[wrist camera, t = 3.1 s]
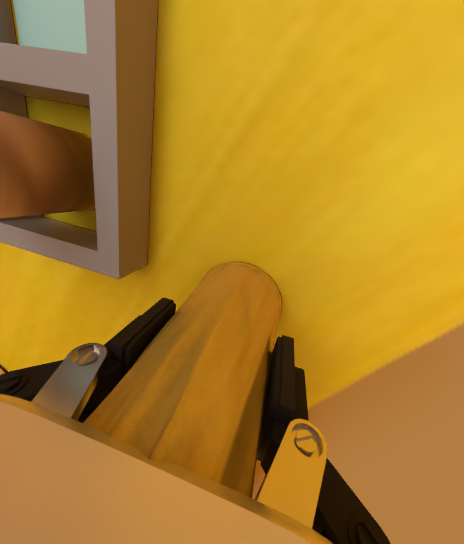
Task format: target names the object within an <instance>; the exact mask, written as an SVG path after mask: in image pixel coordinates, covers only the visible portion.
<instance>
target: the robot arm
mask: <svg viewBox="0 0 464 544" xmlns="http://www.w3.org/2000/svg"><path fill="white" fill-rule="evenodd" d="M175 310H176V304H174V301H173V300H170V299H167V298H162V299H161V300H159V301H158V302H157V303H156V304H155V305H153V306H152V307H151V308H150V309H149V310H148V311H146V312H145V313H144V314H143V315H140V316H138V317H137V318H136V319H135V320H133V321H132V322H131V323H130V324H129V325H127V326H126V327H125V328H124V329H123V330H121V331H120V332H119V333H118V334H117V335H115V336H114V337H113V338H112V339H111V340H109V341H108V342H107V343H106V344H105V345H102V344H98V343H88V344H84V345H81V346H79V347H77V348H75V349H73V350H72V351H71V352H70V353H69V354H68V355H67V357H66V358H65V359H64V360H61V361H56V362H52V363H47V364H42V365H38V366H33V367H28V368H24V369H19V370H15V371H10V372H7V373H5V372H4V371H3V370H2V369H1V368H0V544H390V542H389V540H388V538H387V536H386V535H385V533H384V532H383V531H382V529H381V527H380V526H379V525H378V523H377V522H376V521H375V520H374V518H373V517H372V516H371V514H370V513H369V512H368V511H367V509H366V508H365V507H364V506H363V504H362V503H361V502H360V500H359V499H358V497H357V496H356V495H355V494H354V492H353V491H352V490H351V489H350V487H349V486H348V485H347V483H346V482H345V481H344V479H342V477H341V476H340V474H339V473H338V472H337V470H336V469H335V468H334V466H333V465H332V464H331V463H330V461H329V460H328V459H327V452H328V447H327V444H326V440H325V438H324V437H323V434H322V433H321V432H320V431H319V429H318V428H317V427H316V426H314V425H313V424H312V423H310V422H309V421H308V410H307V398H306V386H305V375H304V370H303V369H301V368H298V367H295V365H294V339H293V338H291V337H287V336H284V335H282V338H281V337H278V338H277V340H276V343H275V346H274V349H273V352H272V359H271V367H270V375H269V382H268V390H267V397H266V404H265V411H264V418H263V424H262V431H261V437H260V443H259V449H258V458H257V460H259V461H261V466H262V468H263V470H264V472H265V477H264V479H263V481H262V484H261V486H260V488H259V491H258V493H257V496H256V497H255V500H254V499H252V498H250V497H248V496H246V495H243V494H241V493H239V492H237V491H235V490H232V489H230V488H228V487H226V486H223V485H221V484H219V483H217V482H215V481H212V480H210V479H208V478H206V477H203V476H201V475H199V474H197V473H194V472H192V471H190V470H188V469H186V468H183V467H181V466H179V465H176V464H171V463H164V462H155V461H152V460H149V459H148V458H146V457H145V456H144V455H143V454H142V453H141V452H139V451H138V450H137V449H136V448H134V447H133V446H131V445H128V444H126V443H124V442H122V441H120V440H118V439H115V438H113V437H110V436H108V435H107V434H106V433H104V432H102V431H99V430H97V429H95V428H92V427H90V426H88V425H85V424H83V423H84V422H85V421H86V419H87V418H88V417H89V416H90V415H91V414H92V413H93V412H94V410H95V409H96V408H97V407H98V406H99V405H100V404H101V403H102V401H103V400H104V399H105V398H106V397H107V396H108V395H109V394H110V393H111V391H112V390H113V389H114V388H115V387H116V386H117V384H118V383H119V382H120V381H121V380H122V379H123V377H124V376H125V375H126V374H127V373H128V371H129V370H130V369H131V368H132V366H133V365H134V364H135V362H136V361H137V359H138V358H139V357H140V355H141V354H142V353H143V351H144V350H145V349H146V348H147V346H148V345H149V344H150V343H151V341H152V340H153V339H154V338H155V336H156V335H157V334H158V333H159V332H160V330H161V329H162V328H163V327H164V326H165V324H166V323H167V322H168V321H169V320H170V319H171V318H172V317H173V315H174V314H175Z"/></svg>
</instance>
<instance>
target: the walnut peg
mask: <svg viewBox="0 0 464 544" xmlns="http://www.w3.org/2000/svg"><path fill="white" fill-rule="evenodd" d="M93 209H95V191H94V173H93V155H92V139H91V138H89V137H88V136H86V135H84V134H82V133H79V132H75V131H71V130H68V129H64V128H61V127H57V126H53V125H50V124H46V123H43V122H39V121H35V120H32V119H28V118H25V117H21V116H18V115H14V114H10V113H7V112H3V111H0V218H9V217H19V216H30V215H41V214H51V213H62V212H72V211H83V210H93Z"/></svg>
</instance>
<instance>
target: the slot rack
mask: <svg viewBox="0 0 464 544" xmlns="http://www.w3.org/2000/svg"><path fill="white" fill-rule="evenodd" d="M13 2H14V9H15V15H16V22H17V29H18V36H19V43H20V45H17V43H16V36H15V29H14V23H13V16H12V10H11V3H10V0H0V111H3V112H7V113H10V114H14V115H18V116H21V117H25V118H28V115H27V109H26V102H25V96H29V97H34V98H40V99H45V100H51V101H57V102H62V103H68V104H73V105H79V106H84V107H90V119H91V137H92V155H93V173H94V191H95V209H96V227H97V232H96V231H92V230H88V229H85V228H81V227H78V226H74V225H71V224H67V223H64V222H60V221H56V220H53V219H49V218H46V217H43V214H41V215H30V216H19V217H9V218H0V242H2V243H5V244H8V245H11V246H15V247H18V248H21V249H24V250H27V251H31V252H34V253H37V254H40V255H43V256H47V257H50V258H53V259H56V260H59V261H63V262H66V263H69V264H72V265H75V266H78V267H82V268H85V269H88V270H91V271H94V272H98V273H101V274H104V275H107V276H110V277H114V278H117V279H121V278H122V277H124V276H126V275H128V274H130V273H132V272H134V271H136V270H138V269H140V268H142V267H144V266H146V265H147V256H148V232H149V208H150V184H151V159H152V135H153V111H154V87H155V63H156V38H157V14H158V0H13Z"/></svg>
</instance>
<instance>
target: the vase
mask: <svg viewBox="0 0 464 544" xmlns="http://www.w3.org/2000/svg"><path fill="white" fill-rule="evenodd" d="M281 309H282V300H281V295H280V292H279V290H278V288H277V286H276V284H275V283H274V281H273V280H272V279H271V278H270V277H269V276H268V275H267V274H266V273H264V272H263V271H262V270H260V269H258V268H257V267H255V266H253V265H250V264H246V263H241V262H229V263H225V264H222V265H219V266H216V267H214V268H213V269H211V270H210V271H209V272H208V273H207V274H206V276H205V277H204V278H203V280H202V281H201V283H200V285H199V286H198V287H197V288H196V289H195V290H194V291H193V293H192V294H191V295H190V296H189V297H188V298H187V300H186V301H185V302H184V303H183V304H182V306H181V307H180V308H179V309H178V311H177V312H176V313H175V314H174V315H173V317H172V318H171V319H170V320H169V321H168V322H167V323H166V324H165V326H164V327H163V328H162V329H161V330H160V332H159V333H158V334H157V335H156V336H155V338H154V339H153V340H152V341H151V343H150V344H149V345H148V346H147V348H146V349H145V350H144V351H143V353H142V354H141V355H140V357H139V358H138V359H137V361H136V362H135V364H134V365H133V366H132V368H131V369H130V370H129V371H128V373H127V374H126V375H125V376H124V377H123V379H122V380H121V381H120V382H119V383H118V384H117V386H116V387H115V388H114V389H113V390H112V391H111V393H110V394H109V395H108V396H107V397H106V398H105V399H104V400H103V401H102V403H101V404H100V405H99V406H98V407H97V408H96V409H95V410H94V412H93V413H92V414H91V415H90V416H89V417H88V418H87V419H86V421H85V422H84V423H83V424H85V425H88V426H90V427H92V428H95V429H97V430H99V431H102V432H104V433H106V434H107V435H108V436H110V437H113V438H115V439H118V440H120V441H122V442H124V443H126V444H128V445H131V446H133V447H134V448H136V449H137V450H138V451H139V452H141V453H142V454H143V455H144V456H145V457H146V458H148V459H149V460H152V461H155V462H164V463H171V464H176V465H179V466H181V467H183V468H186V469H188V470H190V471H192V472H194V473H197V474H199V475H201V476H203V477H206V478H208V479H210V480H212V481H215V482H217V483H219V484H221V485H223V486H226V487H228V488H230V489H232V490H235V491H237V492H239V493H241V494H243V495H246V496H248V497H250V498H252V492H253V483H254V474H255V466H256V460H257V455H258V449H259V443H260V437H261V431H262V424H263V418H264V411H265V404H266V397H267V390H268V382H269V375H270V367H271V359H272V352H273V345H274V339H275V333H276V327H277V323H278V320H279V317H280V315H281Z"/></svg>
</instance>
